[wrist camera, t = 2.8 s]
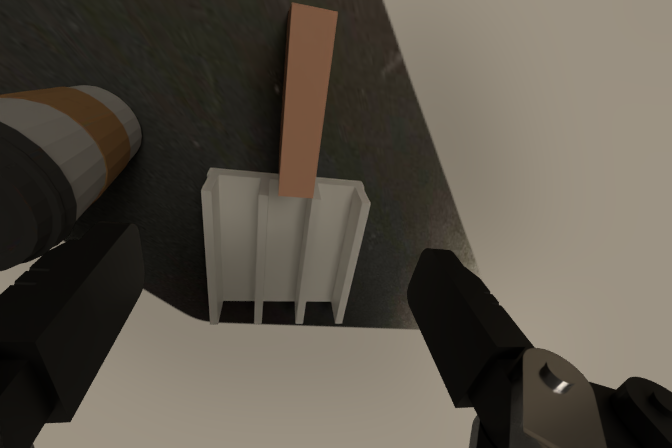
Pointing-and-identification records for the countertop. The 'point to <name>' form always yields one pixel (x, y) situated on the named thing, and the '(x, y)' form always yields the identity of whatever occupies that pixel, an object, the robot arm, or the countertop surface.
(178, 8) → the countertop surface
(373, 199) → the countertop surface
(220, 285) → the dish rack
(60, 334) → the robot arm
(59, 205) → the coffee cup
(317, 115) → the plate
